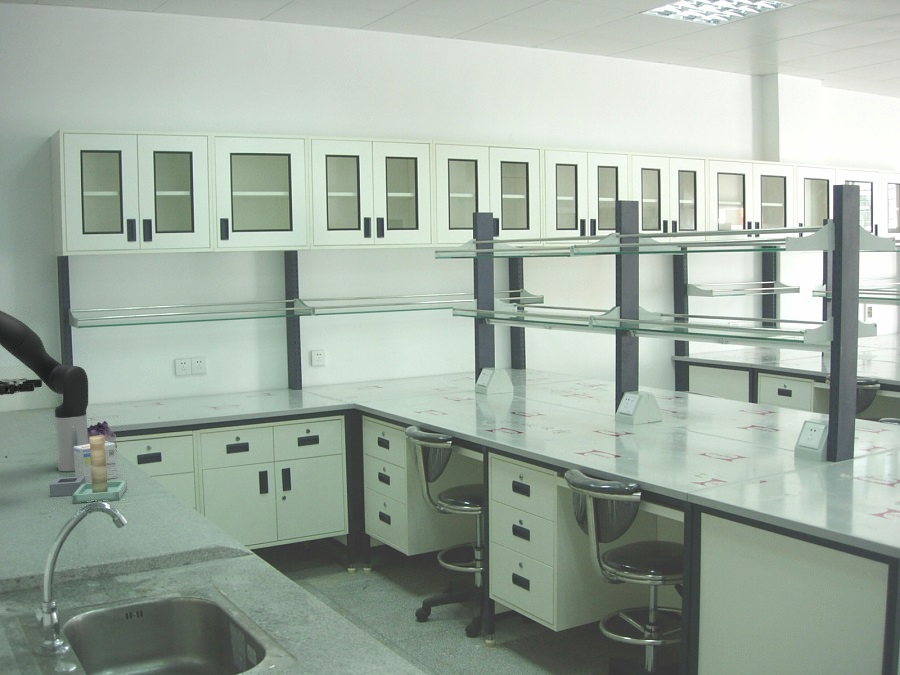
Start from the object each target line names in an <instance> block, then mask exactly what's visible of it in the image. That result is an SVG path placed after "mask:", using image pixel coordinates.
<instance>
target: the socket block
mask: <svg viewBox="0 0 900 675" xmlns="http://www.w3.org/2000/svg"><path fill="white" fill-rule="evenodd" d="M83 483H86V481H85V476H81V477H76V476H69V477H67V476H65V477H57V478H54V480H53V481H52V482H50V483H49V496H50V497H51V498H52V497H53V496H55V497H67V496H68V495H69V496H72V495H73V494H74V493H75V492H76V491H77V489H78V488H79V487H80V486H81V485H82V484H83Z"/></svg>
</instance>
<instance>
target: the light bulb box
mask: <svg viewBox="0 0 900 675" xmlns="http://www.w3.org/2000/svg"><path fill="white" fill-rule="evenodd" d="M73 448H74V461H75V471H74V473H75V477H81V476H85V481H86V483H92V475H91V458H90V444H86V445H81V446H74V447H73ZM105 452H106V470H107V480H111V479H116V478H118V466H117V448H115V443H112V442H108V441H105Z"/></svg>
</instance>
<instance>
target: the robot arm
mask: <svg viewBox="0 0 900 675" xmlns="http://www.w3.org/2000/svg"><path fill="white" fill-rule="evenodd" d="M0 346H1V347H2V348H3V349H4V350H6V351H7V352H8V353H9V354H11V356H14V358H16V359H17V360H18V361H19V362H21V363H22V364H23V365H25V367H27V368H28V369H30V371H32V372H34V373H35V375H36V376H37V377H38V378H39V379H36V378H35V379H27V378H25V377H23V378H11V379H10V378H9V379H8V378H3V379H0V395H1V396H3V395H4V396H5V395H14V394H18V393H24V392H25V393H28V392H34V391H35V389H36V388H41V387H42V386H43V383H44V384H45V385H46V387H48V389H50V390H51V391H52V392H54V393H56V394H60V395H62V403H61V404H60V405H59V406H56V407H55V408H54V417H55V418H54V420H55V433H56V435H55V436H56V448H57V450H56V451H57V464H58V465H57V467H58V471H59V472H75V461H74V448H73V447H74V446H81V445H86V444H88V433H87V428H88V422H87V420H88V419H87V408H88V405H89V378H88V374H87V372H86V370H85V369H84V368H83V367H81V366H78V365H64V364H62V363H60V362H59V361H58V360H55V359H54V358H53V357H52V356H51V355H50V354H49V353H48V352H47V350H46V348H45V346H44V343H43V341H42V339H41V337H40V336H39V335H38V334H37V333H36V332H35V331H34V330H33V329H32V328H30V326H28V325H27V324H25V322H23V321H21V320H20V319H18V318H16V317H14V316H12V315H10V314H8V313H6V312H4V311H2V310H0Z"/></svg>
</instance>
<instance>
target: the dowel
mask: <svg viewBox="0 0 900 675" xmlns="http://www.w3.org/2000/svg"><path fill="white" fill-rule="evenodd" d="M89 441H90V458H91V475H92V482H91V483H92V493H100V492H108V487H107V482H108V479H107V470H106V452H105V436H103V435H97V436H91V437H89Z"/></svg>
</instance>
